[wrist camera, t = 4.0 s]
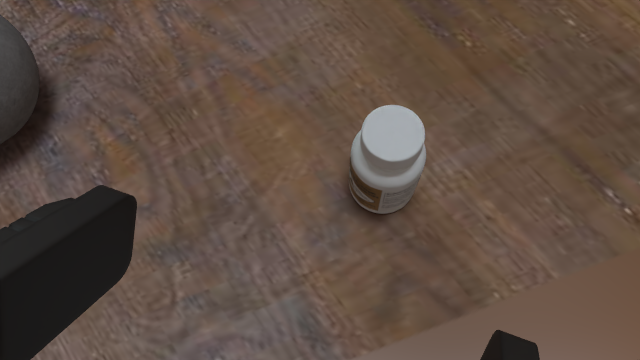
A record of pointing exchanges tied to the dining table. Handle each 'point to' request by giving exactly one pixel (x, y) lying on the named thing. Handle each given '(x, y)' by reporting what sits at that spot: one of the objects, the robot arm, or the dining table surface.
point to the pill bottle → (387, 159)
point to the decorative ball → (16, 80)
